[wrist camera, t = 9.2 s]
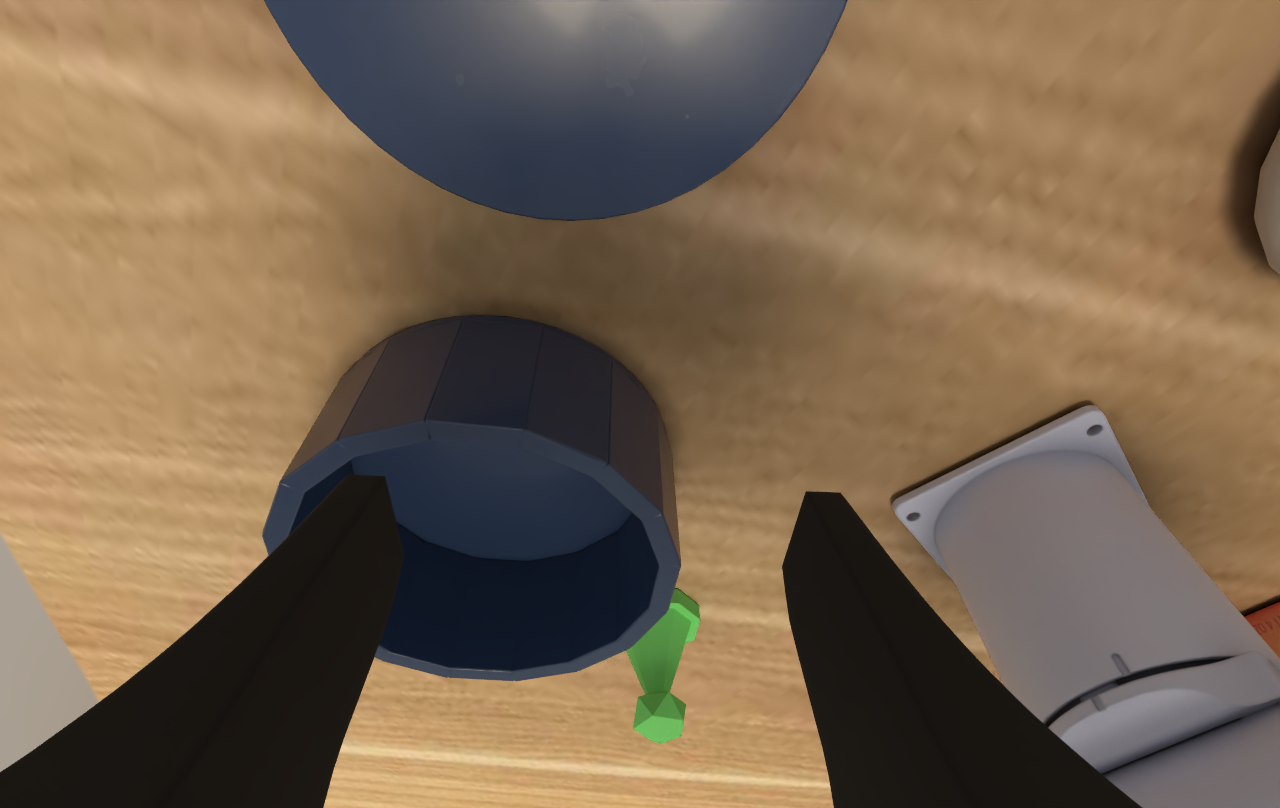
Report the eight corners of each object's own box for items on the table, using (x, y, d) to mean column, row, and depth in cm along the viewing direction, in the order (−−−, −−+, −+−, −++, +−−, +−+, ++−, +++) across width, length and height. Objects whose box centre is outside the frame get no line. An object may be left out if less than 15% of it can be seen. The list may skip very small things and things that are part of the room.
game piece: (636, 575, 29) (638, 707, 24) (717, 601, 30) (734, 732, 25) (593, 624, 31) (587, 754, 26) (670, 647, 32) (678, 774, 28)
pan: (734, 409, 23) (758, 525, 19) (576, 593, 30) (568, 710, 25) (391, 247, 19) (324, 348, 15) (296, 501, 26) (231, 622, 21)
